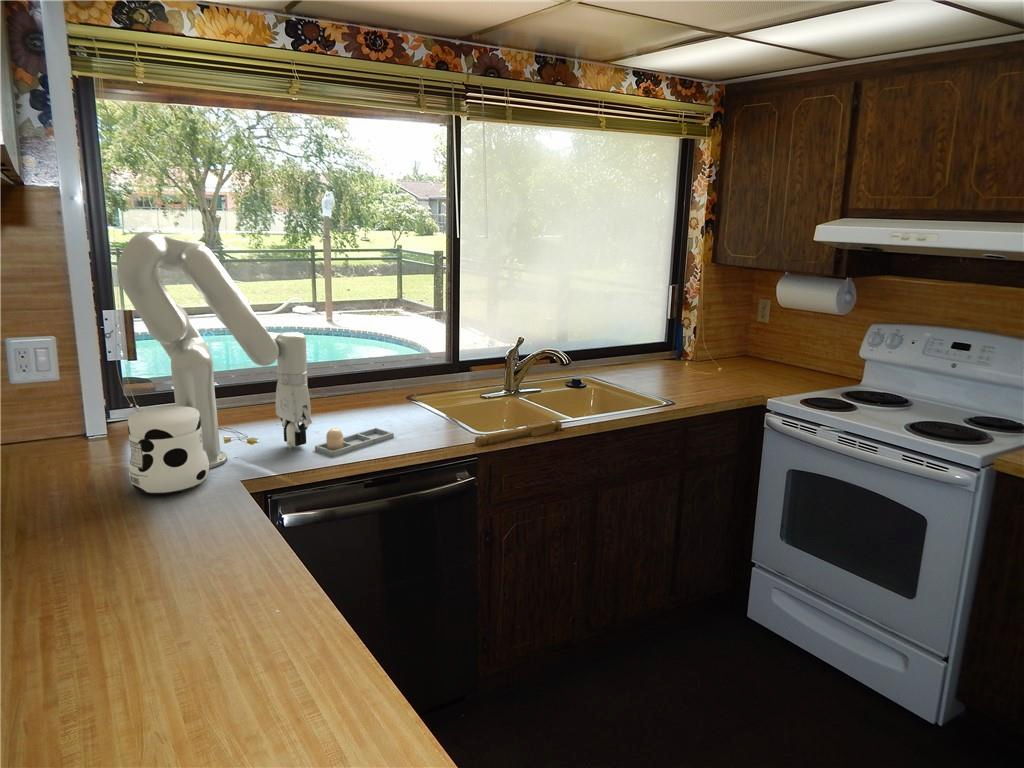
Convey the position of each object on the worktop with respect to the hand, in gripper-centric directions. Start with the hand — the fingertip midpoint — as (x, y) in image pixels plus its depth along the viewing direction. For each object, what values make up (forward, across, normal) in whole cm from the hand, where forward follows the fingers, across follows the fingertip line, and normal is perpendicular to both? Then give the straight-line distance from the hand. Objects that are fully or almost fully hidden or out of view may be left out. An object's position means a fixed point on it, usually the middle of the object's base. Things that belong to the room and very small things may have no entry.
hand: (295, 441), depth 199 cm
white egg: (0, 0, 0) cm, 0 cm away
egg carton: (+2, +10, +13) cm, 16 cm away
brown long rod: (+2, +39, +51) cm, 64 cm away
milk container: (+4, -1, -34) cm, 35 cm away
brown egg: (+1, +10, +6) cm, 12 cm away
